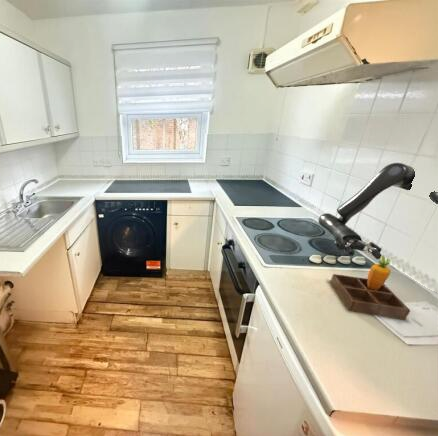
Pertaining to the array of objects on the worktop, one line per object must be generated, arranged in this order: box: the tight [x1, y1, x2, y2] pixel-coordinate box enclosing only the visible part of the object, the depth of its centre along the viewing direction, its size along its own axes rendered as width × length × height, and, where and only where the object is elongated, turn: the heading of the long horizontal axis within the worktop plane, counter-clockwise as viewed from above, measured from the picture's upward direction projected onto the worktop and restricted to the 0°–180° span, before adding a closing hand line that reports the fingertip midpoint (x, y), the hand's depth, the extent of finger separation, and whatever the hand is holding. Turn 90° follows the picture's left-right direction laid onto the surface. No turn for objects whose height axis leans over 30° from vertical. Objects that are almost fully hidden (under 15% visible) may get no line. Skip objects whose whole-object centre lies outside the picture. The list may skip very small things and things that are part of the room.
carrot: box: [366, 255, 391, 291], centre depth 84 cm, size 5×5×15 cm
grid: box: [329, 273, 411, 321], centre depth 84 cm, size 15×15×4 cm
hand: (366, 255), depth 91 cm, fingers open, 8 cm apart
